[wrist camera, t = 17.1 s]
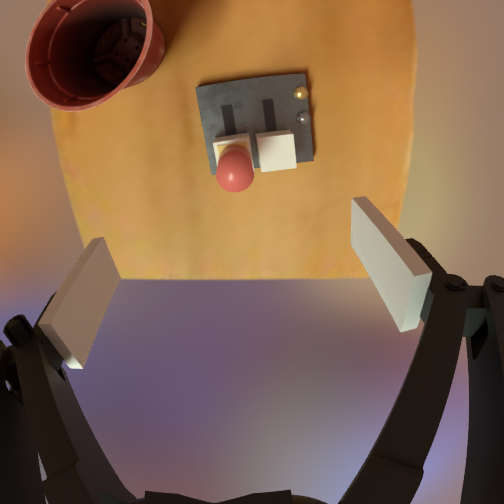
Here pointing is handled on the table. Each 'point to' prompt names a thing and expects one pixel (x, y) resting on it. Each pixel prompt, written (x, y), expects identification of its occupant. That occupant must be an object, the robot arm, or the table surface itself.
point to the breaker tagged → (235, 139)
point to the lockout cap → (235, 168)
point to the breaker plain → (276, 150)
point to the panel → (257, 112)
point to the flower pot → (91, 51)
